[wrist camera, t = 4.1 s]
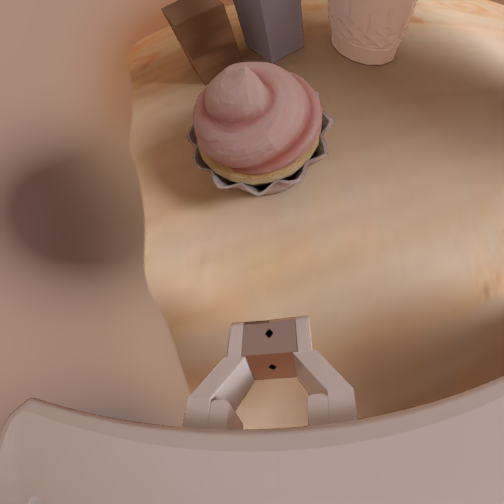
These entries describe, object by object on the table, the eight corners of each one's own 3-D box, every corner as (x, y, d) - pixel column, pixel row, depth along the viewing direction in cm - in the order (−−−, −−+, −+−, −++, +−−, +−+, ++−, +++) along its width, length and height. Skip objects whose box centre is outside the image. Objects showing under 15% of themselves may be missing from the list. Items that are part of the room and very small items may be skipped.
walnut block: (225, 46, 24) (204, -12, 17) (243, 66, 24) (223, 3, 16) (190, 63, 25) (161, 9, 17) (205, 85, 24) (174, 25, 16)
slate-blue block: (277, 29, 24) (266, -30, 16) (303, 46, 23) (299, -18, 15) (246, 46, 24) (228, -14, 16) (272, 63, 23) (259, -2, 15)
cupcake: (352, 173, 21) (382, 91, 11) (246, 239, 21) (199, 195, 11) (283, 92, 22) (269, 1, 13) (189, 147, 23) (131, 74, 13)
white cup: (309, 43, 23) (303, -38, 13) (351, 14, 23) (355, -55, 13) (378, 82, 21) (399, -2, 11) (413, 49, 21) (435, -22, 11)
